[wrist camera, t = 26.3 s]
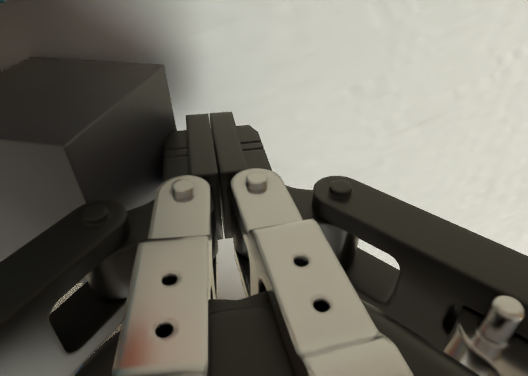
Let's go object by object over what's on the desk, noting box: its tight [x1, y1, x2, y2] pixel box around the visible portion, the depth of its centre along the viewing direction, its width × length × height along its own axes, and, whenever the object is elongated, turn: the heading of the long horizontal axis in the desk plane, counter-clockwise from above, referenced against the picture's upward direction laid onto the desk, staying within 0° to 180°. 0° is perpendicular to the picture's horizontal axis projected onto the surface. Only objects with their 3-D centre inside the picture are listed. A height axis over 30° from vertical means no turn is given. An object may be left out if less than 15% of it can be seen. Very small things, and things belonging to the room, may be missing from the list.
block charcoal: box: [0, 57, 177, 283], centre depth 11 cm, size 4×4×4 cm
